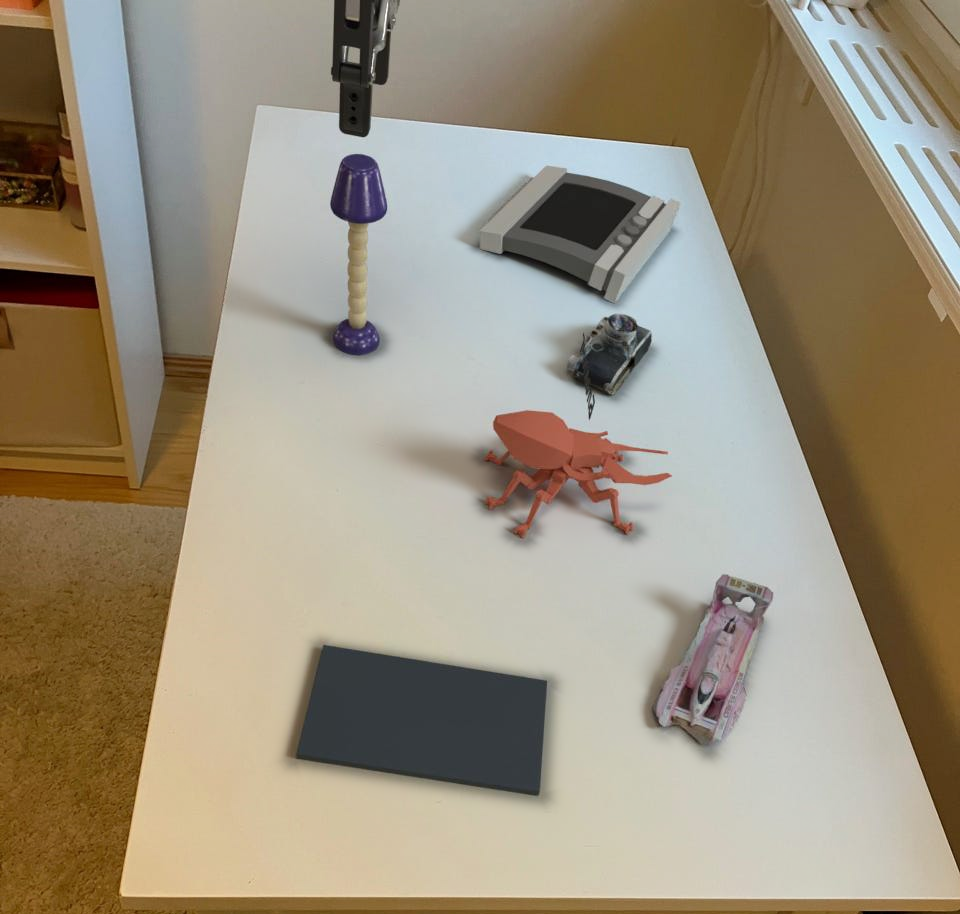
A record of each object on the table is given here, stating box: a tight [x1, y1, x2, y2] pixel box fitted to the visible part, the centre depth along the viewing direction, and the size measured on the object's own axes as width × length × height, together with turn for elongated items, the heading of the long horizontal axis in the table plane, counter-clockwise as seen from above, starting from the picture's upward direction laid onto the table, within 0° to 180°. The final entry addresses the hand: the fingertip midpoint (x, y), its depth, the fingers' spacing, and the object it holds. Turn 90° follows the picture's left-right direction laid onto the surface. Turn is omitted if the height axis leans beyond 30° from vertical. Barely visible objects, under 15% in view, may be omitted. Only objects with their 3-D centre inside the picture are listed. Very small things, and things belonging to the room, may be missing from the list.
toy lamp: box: [330, 153, 388, 356], centre depth 85 cm, size 5×5×17 cm
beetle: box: [483, 331, 673, 539], centre depth 79 cm, size 15×12×13 cm
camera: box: [566, 313, 653, 396], centre depth 93 cm, size 5×10×4 cm, turn 151°
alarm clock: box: [479, 164, 682, 304], centre depth 106 cm, size 17×5×16 cm
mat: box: [296, 644, 548, 797], centre depth 68 cm, size 16×9×1 cm, turn 84°
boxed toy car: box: [652, 574, 774, 747], centre depth 72 cm, size 13×6×4 cm, turn 156°
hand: (364, 106), depth 75 cm, fingers open, 8 cm apart
